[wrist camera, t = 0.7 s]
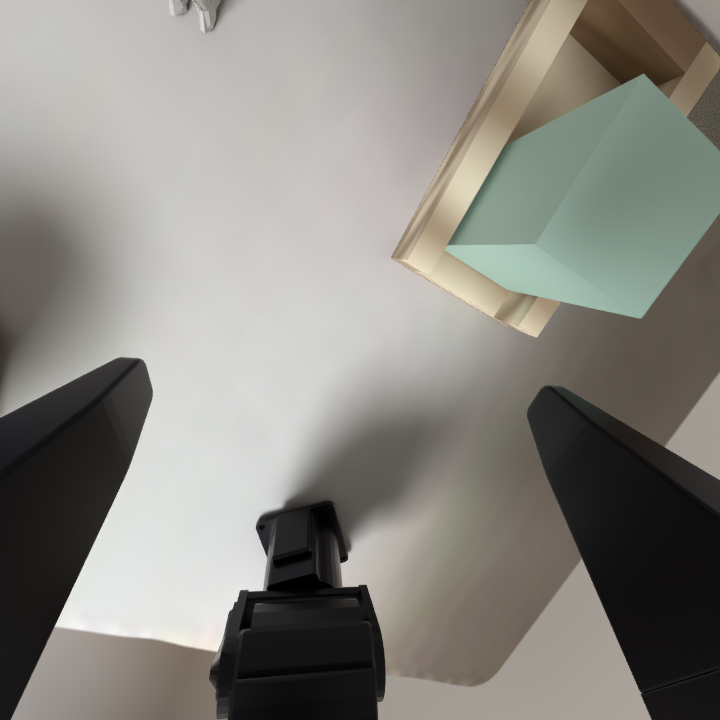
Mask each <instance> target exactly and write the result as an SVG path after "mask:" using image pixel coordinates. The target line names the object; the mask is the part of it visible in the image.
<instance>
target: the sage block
mask: <svg viewBox="0 0 720 720" xmlns="http://www.w3.org/2000/svg"><path fill="white" fill-rule="evenodd" d="M719 213H720V151H719V150H718V149H717V148H716V147H715V145H714V144H713V143H712V142H711V141H710V140H709V139H708V138H707V137H706V136H705V135H704V134H703V133H702V132H701V131H700V130H699V129H698V128H697V127H696V126H695V125H694V124H693V123H692V122H691V121H690V120H689V119H688V118H687V117H686V116H685V115H684V114H683V113H682V112H681V111H680V110H679V109H678V108H677V107H676V106H675V105H674V104H673V103H672V102H671V101H670V100H669V99H668V98H667V97H666V96H665V95H664V94H663V93H662V92H661V91H660V90H659V89H658V88H657V87H656V86H655V85H654V84H653V83H652V82H651V81H650V79H649V78H648V77H647V76H646V75H645V74H642V75H640V76H638V77H636V78H634V79H632V80H630V81H628V82H626V83H624V84H623V85H621V86H619V87H617V88H615V89H613V90H611V91H609V92H607V93H605V94H603V95H601V96H599V97H597V98H595V99H594V100H592V101H590V102H588V103H586V104H584V105H582V106H580V107H578V108H576V109H574V110H572V111H570V112H568V113H567V114H565V115H563V116H561V117H559V118H557V119H555V120H553V121H551V122H549V123H547V124H545V125H543V126H541V127H540V128H538V129H536V130H534V131H532V132H530V133H528V134H526V135H524V136H522V137H520V138H518V139H516V140H514V141H513V142H511V143H509V144H507V145H505V146H504V147H503V149H502V150H501V152H500V154H499V156H498V157H497V159H496V161H495V163H494V164H493V166H492V168H491V170H490V171H489V173H488V175H487V177H486V178H485V180H484V182H483V184H482V185H481V187H480V189H479V190H478V192H477V194H476V196H475V197H474V199H473V201H472V203H471V204H470V206H469V208H468V210H467V211H466V213H465V215H464V217H463V218H462V220H461V222H460V223H459V225H458V227H457V229H456V230H455V232H454V234H453V236H452V237H451V239H450V241H449V243H448V244H447V246H446V248H445V251H446V252H448V253H450V254H451V255H453V256H454V257H456V258H457V259H459V260H461V261H462V262H464V263H465V264H467V265H468V266H470V267H472V268H473V269H475V270H476V271H478V272H480V273H481V274H483V275H484V276H486V277H487V278H489V279H491V280H492V281H494V282H495V283H497V284H498V285H500V286H502V287H503V288H505V289H506V290H510V291H515V292H519V293H524V294H528V295H533V296H538V297H542V298H547V299H552V300H556V301H561V302H566V303H570V304H575V305H580V306H584V307H589V308H594V309H598V310H603V311H607V312H612V313H617V314H621V315H626V316H631V317H635V318H640V319H641V318H642V317H643V316H644V314H645V313H646V311H647V310H648V309H649V307H650V306H651V305H652V303H653V302H654V301H655V299H656V298H657V297H658V295H659V294H660V293H661V291H662V290H663V289H664V287H665V286H666V285H667V283H668V282H669V281H670V279H671V278H672V277H673V275H674V274H675V273H676V271H677V270H678V269H679V267H680V266H681V264H682V263H683V262H684V260H685V259H686V258H687V256H688V255H689V254H690V252H691V251H692V250H693V248H694V247H695V246H696V244H697V243H698V242H699V240H700V239H701V238H702V236H703V235H704V234H705V232H706V231H707V230H708V228H709V227H710V226H711V224H712V223H713V222H714V220H715V219H716V217H717V216H718V215H719Z"/></svg>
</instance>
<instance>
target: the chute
mask: <svg viewBox="0 0 720 720" xmlns="http://www.w3.org/2000/svg"><path fill="white" fill-rule="evenodd" d="M719 69H720V56H719V55H718V54H717V53H716V52H715V51H714V49H713V48H712V47H711V46H710V45H709V44H708V43H707V41H706V40H705V39H704V38H703V37H702V36H701V34H700V33H699V32H698V31H697V30H696V29H695V28H694V26H693V25H692V24H691V23H690V22H689V21H688V20H687V18H686V17H685V16H684V15H683V14H682V13H681V12H680V10H679V9H678V8H677V7H676V6H675V5H674V4H673V2H672V1H671V0H530V2H529V4H528V6H527V8H526V10H525V11H524V13H523V15H522V17H521V19H520V21H519V22H518V24H517V26H516V28H515V30H514V32H513V34H512V35H511V37H510V39H509V41H508V43H507V45H506V46H505V48H504V50H503V52H502V54H501V56H500V58H499V59H498V61H497V63H496V65H495V67H494V69H493V70H492V72H491V74H490V76H489V78H488V80H487V82H486V83H485V85H484V87H483V89H482V91H481V93H480V94H479V96H478V98H477V100H476V102H475V104H474V106H473V107H472V109H471V111H470V113H469V115H468V117H467V118H466V120H465V122H464V124H463V126H462V128H461V130H460V131H459V133H458V135H457V137H456V139H455V141H454V142H453V144H452V146H451V148H450V150H449V152H448V154H447V155H446V157H445V159H444V161H443V163H442V165H441V166H440V168H439V170H438V172H437V174H436V176H435V178H434V179H433V181H432V183H431V185H430V187H429V189H428V190H427V192H426V194H425V196H424V198H423V200H422V202H421V203H420V205H419V207H418V209H417V211H416V213H415V214H414V216H413V218H412V220H411V222H410V224H409V226H408V227H407V229H406V231H405V233H404V235H403V237H402V238H401V240H400V242H399V244H398V246H397V248H396V250H395V251H394V253H393V255H392V257H391V258H392V259H393V260H395V261H397V262H399V263H400V264H402V265H404V266H405V267H407V268H409V269H410V270H412V271H414V272H415V273H417V274H419V275H420V276H422V277H424V278H425V279H427V280H429V281H431V282H432V283H434V284H436V285H437V286H439V287H441V288H442V289H444V290H446V291H447V292H449V293H451V294H452V295H454V296H456V297H457V298H459V299H461V300H463V301H464V302H466V303H468V304H469V305H471V306H473V307H474V308H476V309H478V310H479V311H481V312H483V313H484V314H486V315H488V316H490V317H491V318H493V319H495V320H496V321H498V322H500V323H501V324H503V325H506V326H508V327H511V328H513V329H516V330H518V331H521V332H523V333H526V334H528V335H531V336H533V337H536V338H537V337H538V335H539V334H540V332H541V331H542V329H543V328H544V326H545V325H546V323H547V322H548V320H549V319H550V318H551V316H552V315H553V313H554V312H555V310H556V309H557V307H558V306H559V304H560V303H561V301H556V300H552V299H547V298H542V297H538V296H533V295H528V294H524V293H519V292H515V291H510V290H506V289H505V288H503V287H502V286H500V285H498V284H497V283H495V282H494V281H492V280H491V279H489V278H487V277H486V276H484V275H483V274H481V273H480V272H478V271H476V270H475V269H473V268H472V267H470V266H468V265H467V264H465V263H464V262H462V261H461V260H459V259H457V258H456V257H454V256H453V255H451V254H450V253H448V252H446V251H445V248H446V246H447V244H448V243H449V241H450V239H451V237H452V236H453V234H454V232H455V230H456V229H457V227H458V225H459V223H460V222H461V220H462V218H463V217H464V215H465V213H466V211H467V210H468V208H469V206H470V204H471V203H472V201H473V199H474V197H475V196H476V194H477V192H478V190H479V189H480V187H481V185H482V184H483V182H484V180H485V178H486V177H487V175H488V173H489V171H490V170H491V168H492V166H493V164H494V163H495V161H496V159H497V157H498V156H499V154H500V152H501V150H502V149H503V147H504V146H505V145H507V144H509V143H511V142H513V141H514V140H516V139H518V138H520V137H522V136H524V135H526V134H528V133H530V132H532V131H534V130H536V129H538V128H540V127H541V126H543V125H545V124H547V123H549V122H551V121H553V120H555V119H557V118H559V117H561V116H563V115H565V114H567V113H568V112H570V111H572V110H574V109H576V108H578V107H580V106H582V105H584V104H586V103H588V102H590V101H592V100H594V99H595V98H597V97H599V96H601V95H603V94H605V93H607V92H609V91H611V90H613V89H615V88H617V87H619V86H621V85H623V84H624V83H626V82H628V81H630V80H632V79H634V78H636V77H638V76H640V75H642V74H645V75H646V76H647V77H648V78H649V79H650V81H651V82H652V83H653V84H654V85H655V86H656V87H657V88H658V89H659V90H660V91H661V92H662V93H663V94H664V95H665V96H666V97H667V98H668V99H669V100H670V101H671V102H672V103H673V104H674V105H675V106H676V107H677V108H678V109H679V110H680V111H681V112H682V113H683V114H684V115H685V116H686V117H687V116H688V114H689V113H690V111H691V110H692V108H693V107H694V106H695V104H696V103H697V101H698V100H699V98H700V97H701V95H702V94H703V92H704V91H705V89H706V88H707V86H708V85H709V83H710V82H711V80H712V79H713V78H714V76H715V75H716V73H717V72H718V70H719Z"/></svg>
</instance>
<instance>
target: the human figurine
mask: <svg viewBox="0 0 720 720" xmlns="http://www.w3.org/2000/svg"><path fill="white" fill-rule="evenodd" d="M168 1H169V9H170V15H172V16H178V15H181V14H183V13H185V12H187V5H186V4H187V2H188V0H168ZM192 1H193V2H194V4H195V6H196V5H197V6H196V8H197V7H198V9H197V11H198V19H199V25H200V30H201V31H202V32H204V33H207V32H209V31H211V30H212V29H213V28H214V24H215V21H216V9H217V8H218V6H219V4H220V3H221V0H192Z"/></svg>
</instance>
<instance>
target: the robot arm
mask: <svg viewBox="0 0 720 720" xmlns="http://www.w3.org/2000/svg"><path fill="white" fill-rule="evenodd" d="M152 397H153V389H152V385H151V381H150V378H149V374H148V370H147V367H146V364H145V362H144V361H143V360H142V359H140V358H127V357H120V358H117V359H114V360H112V361H110V362H108V363H107V364H105V365H103V366H101V367H99V368H97V369H95V370H93V371H91V372H89V373H87V374H85V375H83V376H81V377H79V378H77V379H75V380H73V381H71V382H69V383H67V384H66V385H64V386H62V387H60V388H58V389H56V390H54V391H52V392H50V393H48V394H46V395H44V396H42V397H40V398H38V399H36V400H34V401H32V402H30V403H28V404H26V405H24V406H23V407H21V408H19V409H17V410H15V411H13V412H11V413H9V414H7V415H5V416H3V417H1V418H0V720H11V718H12V716H13V714H14V711H15V709H16V707H17V705H18V703H19V701H20V699H21V697H22V694H23V692H24V690H25V688H26V686H27V684H28V682H29V680H30V678H31V675H32V673H33V671H34V669H35V667H36V665H37V663H38V660H39V658H40V656H41V654H42V652H43V650H44V648H45V646H46V644H47V641H48V639H49V637H50V635H51V633H52V631H53V629H54V627H55V625H56V622H57V620H58V618H59V616H60V614H61V612H62V610H63V608H64V605H65V603H66V601H67V599H68V597H69V595H70V593H71V591H72V588H73V586H74V584H75V582H76V580H77V578H78V576H79V574H80V571H81V569H82V567H83V565H84V563H85V561H86V559H87V557H88V555H89V552H90V550H91V548H92V546H93V544H94V542H95V540H96V538H97V535H98V533H99V531H100V529H101V527H102V525H103V523H104V521H105V518H106V516H107V514H108V512H109V510H110V508H111V506H112V504H113V501H114V499H115V497H116V495H117V493H118V491H119V489H120V487H121V485H122V482H123V480H124V478H125V476H126V474H127V471H128V469H129V467H130V464H131V461H132V458H133V456H134V453H135V450H136V447H137V444H138V441H139V438H140V434H141V431H142V428H143V425H144V422H145V419H146V416H147V413H148V410H149V407H150V404H151V401H152ZM527 418H528V421H529V424H530V428H531V431H532V434H533V437H534V440H535V443H536V446H537V449H538V452H539V455H540V459H541V462H542V465H543V468H544V470H545V473H546V476H547V478H548V481H549V483H550V485H551V488H552V490H553V492H554V495H555V497H556V499H557V502H558V504H559V506H560V508H561V511H562V513H563V515H564V518H565V520H566V522H567V525H568V527H569V529H570V532H571V534H572V536H573V538H574V541H575V543H576V545H577V548H578V550H579V552H580V555H581V557H582V559H583V561H584V564H585V566H586V568H587V571H588V573H589V575H590V577H591V580H592V582H593V585H594V587H595V589H596V591H597V594H598V596H599V598H600V601H601V603H602V605H603V608H604V610H605V612H606V615H607V617H608V619H609V621H610V624H611V626H612V628H613V631H614V633H615V635H616V638H617V640H618V642H619V644H620V647H621V649H622V651H623V654H624V656H625V658H626V661H627V663H628V665H629V668H630V670H631V672H632V674H633V676H634V679H635V681H636V684H637V686H638V688H639V690H640V692H642V693H641V696H642V698H643V701H644V703H645V705H646V708H647V710H648V712H649V715H650V717H651V719H652V720H720V480H718V479H717V478H715V477H713V476H712V475H710V474H708V473H706V472H705V471H703V470H702V469H700V468H698V467H697V466H695V465H693V464H691V463H690V462H688V461H687V460H685V459H683V458H682V457H680V456H678V455H676V454H675V453H673V452H671V451H670V450H668V449H666V448H665V447H663V446H661V445H660V444H658V443H656V442H655V441H653V440H651V439H650V438H648V437H646V436H645V435H643V434H641V433H640V432H638V431H636V430H634V429H633V428H631V427H629V426H628V425H626V424H624V423H623V422H621V421H619V420H618V419H616V418H614V417H613V416H611V415H609V414H608V413H606V412H604V411H603V410H601V409H599V408H598V407H596V406H594V405H592V404H591V403H589V402H587V401H586V400H584V399H582V398H581V397H579V396H577V395H576V394H574V393H572V392H571V391H569V390H567V389H566V388H564V387H561V386H551V385H546V386H544V387H542V388H541V389H540V391H539V392H538V394H537V395H536V397H535V398H534V400H533V401H532V403H531V405H530V406H529V408H528V411H527ZM328 507H330V508H329V509H327V508H328ZM261 525H265V526H261ZM256 530H257V533H258V535H259V538H260V540H261V543H262V545H263V548H264V550H265V553H266V556H267V564H266V572H265V579H264V587H263V591H252V592H249V590H240V593H239V597H238V601H237V602H235V603H234V607H233V609H232V610H231V611H230V612H229V615H228V619H227V624H226V628H225V633H224V636H223V640H222V642H221V645H220V647H219V649H218V652H217V654H216V657H215V659H214V661H213V664H212V666H211V670H210V677H209V680H210V682H211V683H212V685H213V686H214V688H215V689H216V701H217V719H226V718H228V720H378V708H377V702H381V701H382V700H383V698H384V693H385V657H384V647H383V640H382V635H381V630H380V627H379V623H378V620H377V617H376V614H375V611H374V607H373V604H372V601H371V598H370V595H369V591H368V588H367V585H359V587H342V576H341V566H340V563H343V562H346V561H347V560H348V552H347V549H346V545H345V541H344V538H343V534H342V531H341V527H340V524H339V520H338V516H337V513H336V509H335V506H334V503H333V502H330V501H328V502H323V503H320V504H316V505H312V506H308V507H305V508H301V509H297V510H293V511H289V512H286V513H282V514H278V515H274V516H270V517H267V518H263V519H260V520H258V521H257V524H256ZM341 556H342V557H341Z"/></svg>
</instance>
